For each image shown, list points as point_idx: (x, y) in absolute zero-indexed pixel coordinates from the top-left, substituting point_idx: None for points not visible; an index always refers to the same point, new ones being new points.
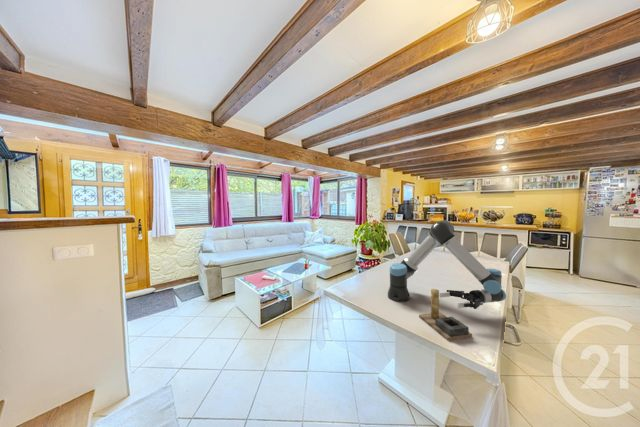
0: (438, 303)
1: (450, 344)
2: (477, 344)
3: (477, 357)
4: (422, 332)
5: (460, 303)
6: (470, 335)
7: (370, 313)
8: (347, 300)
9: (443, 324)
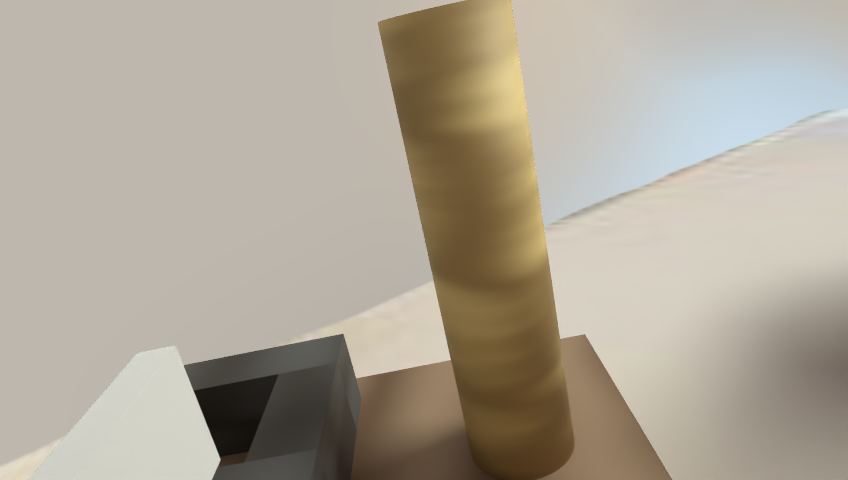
0: (431, 245)
1: None
2: None
3: None
4: (348, 342)
5: (112, 394)
6: None
7: (618, 194)
8: (780, 134)
9: (224, 360)
